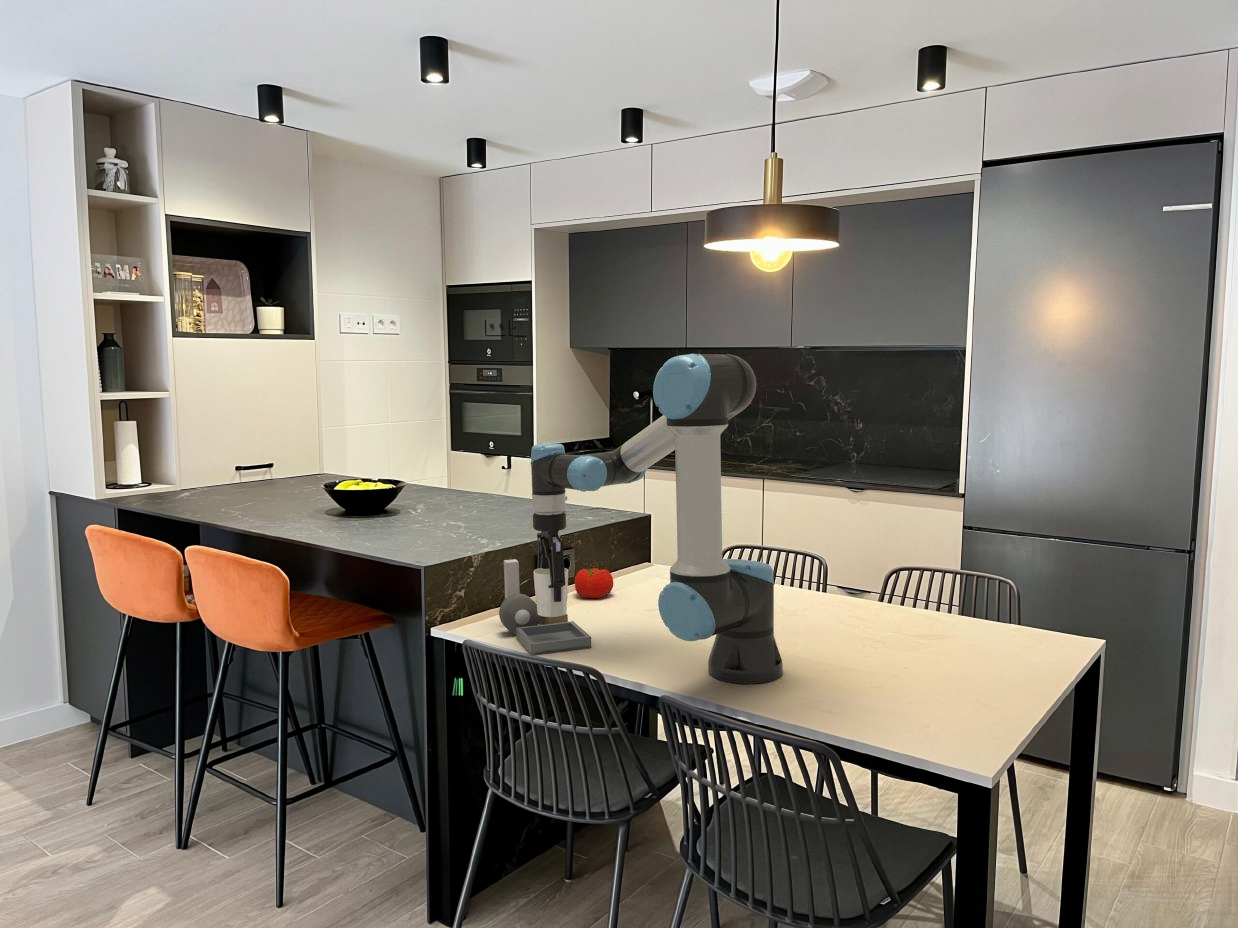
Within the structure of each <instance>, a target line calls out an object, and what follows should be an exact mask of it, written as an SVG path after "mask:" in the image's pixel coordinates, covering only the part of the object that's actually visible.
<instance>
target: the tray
mask: <svg viewBox="0 0 1238 928" xmlns="http://www.w3.org/2000/svg"><path fill="white" fill-rule="evenodd" d="M515 639H516V640H517V641H518V642H519V643H520V645H521V646H522V647H523V648H524V649H525V650H526V652H527V654H528V653H529V655H530V654H531V655H532V656H539V655H545V654H553V653H554V654H555V653H562V652H568V651H569V652H570V651H575V650H576V651H577V650H586V649H591V648H593V646H592V636H591V635H590V634H589V633H587V632H586V631H585V629H583V628H582V627H580V626H579V625H578V623H576V622H575V621H574V620H571V621H568V622H561V623H553V624H544V625H536V626H528V627H519V628H516V635H515ZM531 655H530V656H531Z"/></svg>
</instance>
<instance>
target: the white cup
mask: <svg viewBox="0 0 1238 928" xmlns="http://www.w3.org/2000/svg"><path fill="white" fill-rule="evenodd" d="M564 570H565V583H566V584H565V586H563V587H562V593H563V615H564V614H568V613H567V612H568V611H567V610H568V607H567V605H568V603H567V602H568V594H569V591H568V590H569V569H568V568H566V567H564ZM532 572H533V582H534V583H533V584H534V594H535V603H536V604H537V614H538V615H540V616H543V617H557V616H562V615H557V616H551V614H550V588H548V586H549V585H551V579H550V571H549V569H543V568H538V569H537V568H536V569H534V570H533V571H532Z"/></svg>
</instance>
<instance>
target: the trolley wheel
mask: <svg viewBox="0 0 1238 928" xmlns="http://www.w3.org/2000/svg"><path fill="white" fill-rule="evenodd" d="M503 573H504V575H503V576H504V577H503V578H504V600H503V601H502V603H500V607H499V611H498V614H499V615H498V617H499V620H500V622H501V624H502V625H503V626H504V627H505V629H506V630H507V631H508V632H509V633H511V634H512V635H514V636H516V628H519V627H528V626H536V625H539V623H540V619H541V616H540V615H538V614H537V603H536V601H534V599H532V598H531V597H530V596H528V595H527V594H524V593H521V592H520V564H519V561H518V560H517V559H516V558H513V559H504V560H503Z"/></svg>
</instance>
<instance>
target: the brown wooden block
mask: <svg viewBox="0 0 1238 928" xmlns="http://www.w3.org/2000/svg"><path fill="white" fill-rule="evenodd" d="M568 615H569V614H568V613H566V614H564V615H562V616H557V617H543V616H541V619H540V623H539V625H544V624H553V623H561V622H569V616H568Z"/></svg>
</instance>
